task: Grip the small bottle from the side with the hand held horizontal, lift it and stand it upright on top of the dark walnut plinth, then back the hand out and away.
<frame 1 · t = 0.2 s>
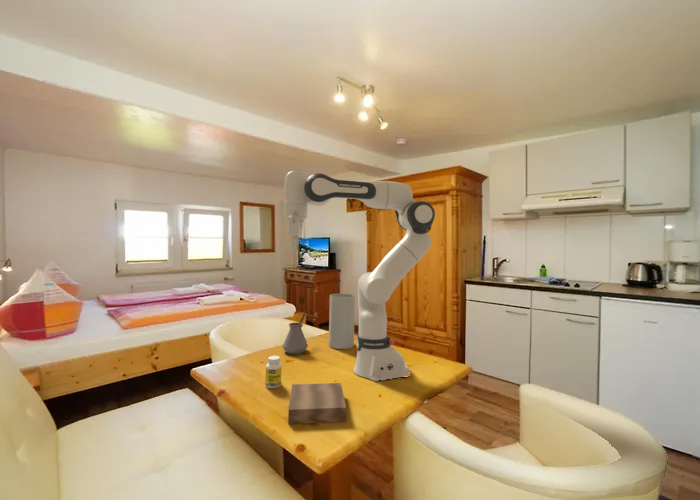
hand: (295, 249, 121), 48 cm above the table, tool pointing down, fingers open, 8 cm apart
cylinder vase: (341, 346, 157), on the table
coffee pot: (298, 348, 152), on the table
supplement bottle: (273, 385, 111), on the table
walnut plinth: (316, 408, 96), on the table
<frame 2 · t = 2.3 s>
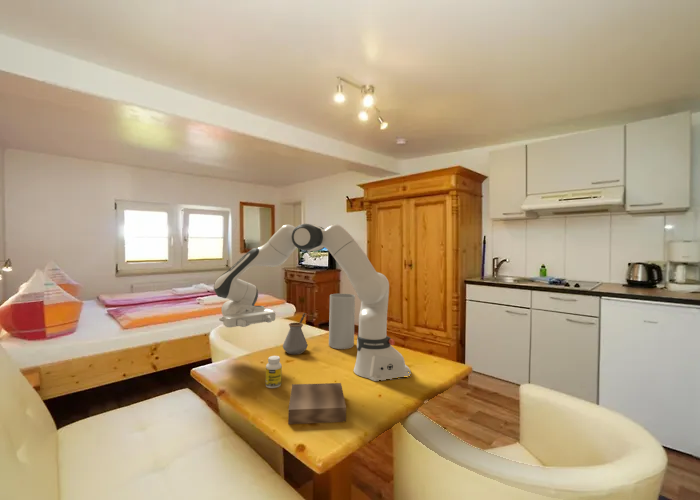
hand: (258, 322, 120), 20 cm above the table, tool horizontal, fingers open, 8 cm apart
nothing on the table moved.
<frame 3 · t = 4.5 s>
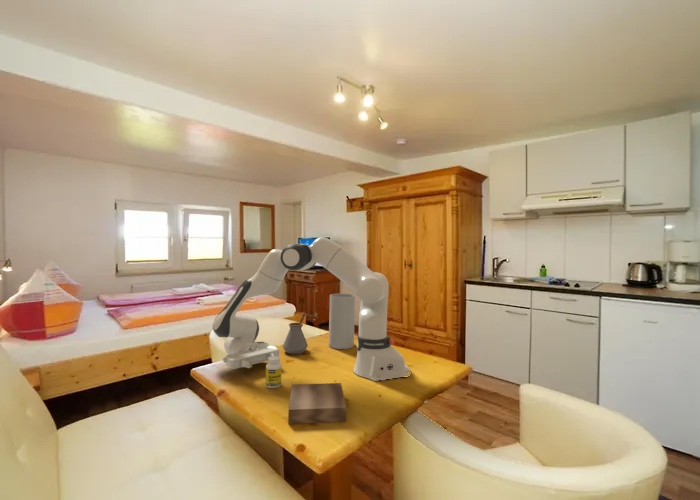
hand: (262, 362, 118), 5 cm above the table, tool horizontal, fingers open, 8 cm apart
nothing on the table moved.
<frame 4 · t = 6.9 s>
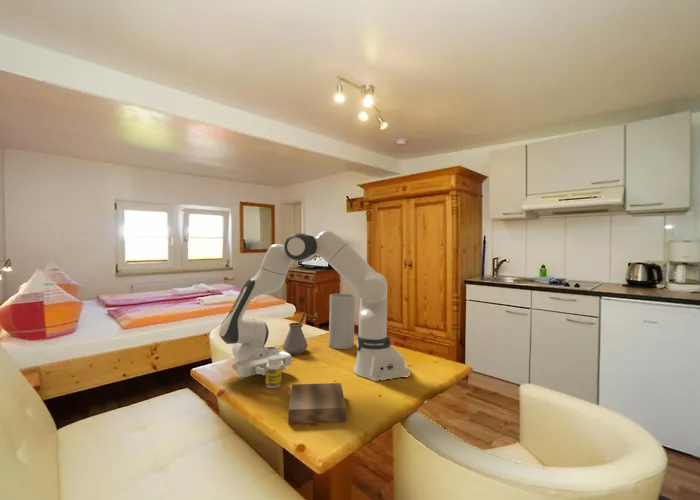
hand: (274, 370, 111), 6 cm above the table, tool horizontal, fingers closed on supplement bottle, 5 cm apart
supplement bottle: (273, 385, 111), on the table, touching gripper
everything else where it was.
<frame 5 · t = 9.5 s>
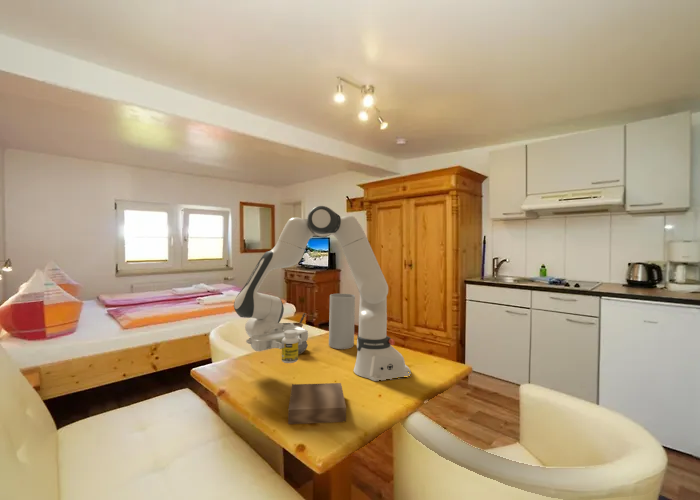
hand: (291, 344, 105), 17 cm above the table, tool horizontal, fingers closed on supplement bottle, 5 cm apart
supplement bottle: (289, 361, 105), point 11 cm above the table, touching gripper
everything else where it was.
when the fingers open (11 cm above the table, at t = 12.4 s): supplement bottle stays where it is, resting on walnut plinth.
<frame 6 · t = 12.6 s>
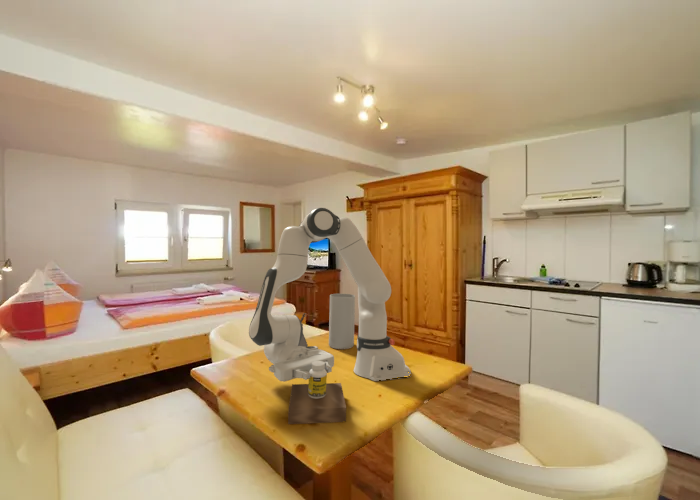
hand: (319, 373, 95), 11 cm above the table, tool horizontal, fingers open, 7 cm apart
supplement bottle: (317, 395, 96), point 4 cm above the table, touching walnut plinth
everything else where it was.
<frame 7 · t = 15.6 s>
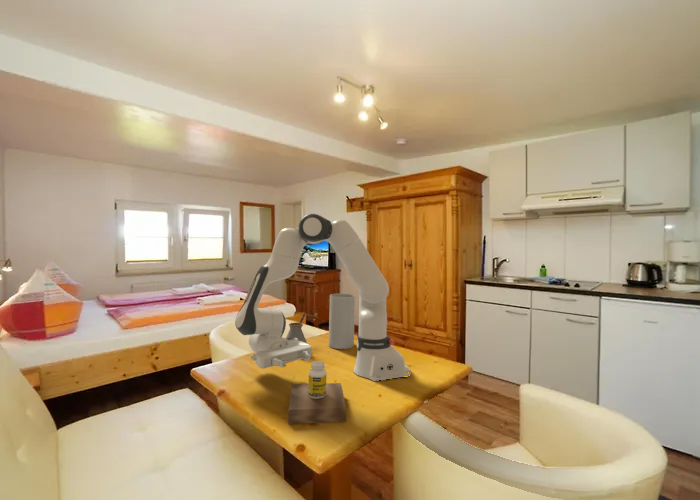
hand: (296, 361, 105), 11 cm above the table, tool horizontal, fingers open, 8 cm apart
nothing on the table moved.
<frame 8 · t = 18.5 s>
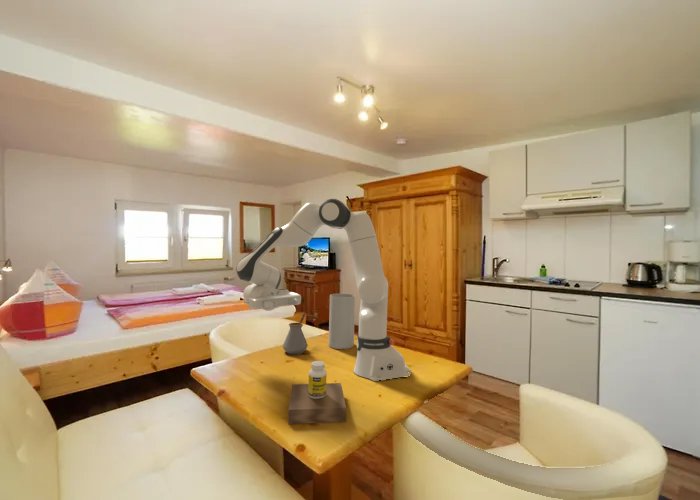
hand: (285, 304, 115), 28 cm above the table, tool horizontal, fingers open, 8 cm apart
nothing on the table moved.
at the end: supplement bottle inside the target area on the walnut plinth (0.0 cm from its centre), point 3.8 cm above the walnut plinth's base; supplement bottle tilted 0°; the gripper is holding nothing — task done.
